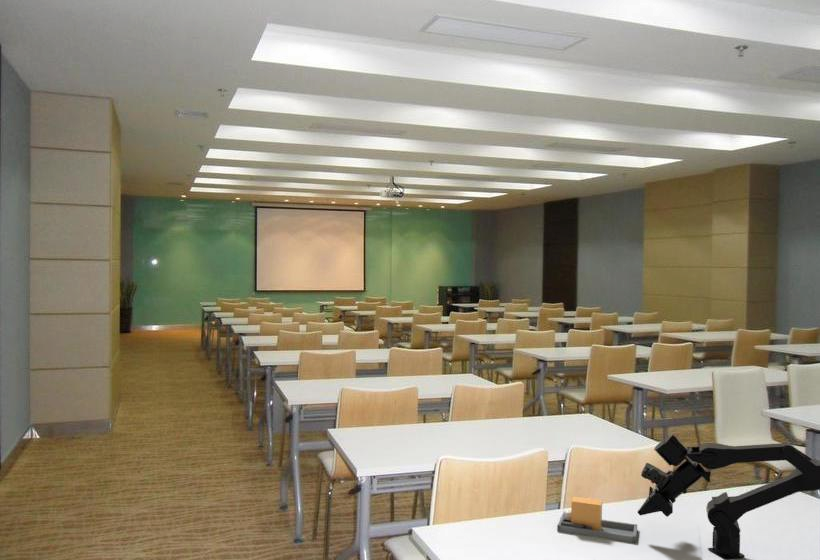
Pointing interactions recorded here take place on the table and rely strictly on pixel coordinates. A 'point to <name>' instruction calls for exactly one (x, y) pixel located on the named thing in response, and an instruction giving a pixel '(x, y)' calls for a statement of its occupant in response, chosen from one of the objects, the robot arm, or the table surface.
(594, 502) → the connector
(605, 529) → the tray
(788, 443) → the robot arm
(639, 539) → the table surface
